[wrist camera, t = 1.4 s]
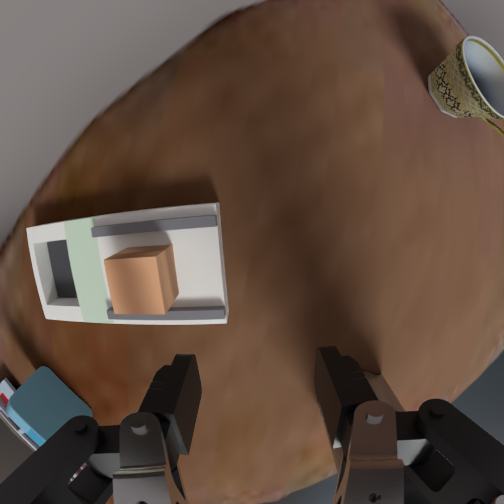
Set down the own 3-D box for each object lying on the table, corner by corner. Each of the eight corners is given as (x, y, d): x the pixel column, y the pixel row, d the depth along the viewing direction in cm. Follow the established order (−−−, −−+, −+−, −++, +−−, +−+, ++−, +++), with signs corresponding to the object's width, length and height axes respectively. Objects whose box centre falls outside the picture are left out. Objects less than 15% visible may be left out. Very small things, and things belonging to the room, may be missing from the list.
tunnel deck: (219, 202, 28) (214, 204, 24) (228, 311, 31) (225, 327, 27) (40, 224, 28) (21, 229, 24) (57, 310, 31) (41, 321, 27)
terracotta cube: (172, 244, 26) (155, 256, 21) (179, 293, 27) (165, 314, 22) (126, 247, 26) (103, 259, 21) (134, 294, 27) (114, 314, 22)
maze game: (128, 480, 41) (125, 489, 38) (89, 483, 44) (86, 490, 40) (12, 371, 35) (3, 379, 32) (-6, 392, 37) (-12, 398, 34)
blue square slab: (37, 372, 34) (2, 409, 22) (44, 362, 33) (5, 401, 22) (86, 418, 36) (59, 463, 24) (95, 411, 35) (67, 459, 24)
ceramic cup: (403, 75, 25) (448, 45, 15) (440, 52, 23) (482, 28, 13) (457, 161, 27) (511, 159, 17) (488, 129, 25) (535, 123, 16)
